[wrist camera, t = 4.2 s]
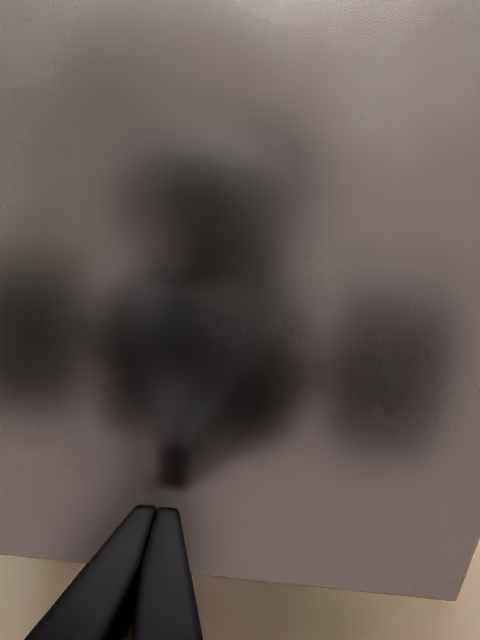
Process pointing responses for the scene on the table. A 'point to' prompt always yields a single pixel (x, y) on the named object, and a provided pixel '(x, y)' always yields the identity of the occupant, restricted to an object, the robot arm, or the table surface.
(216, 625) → the table surface
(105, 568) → the robot arm
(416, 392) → the lid
